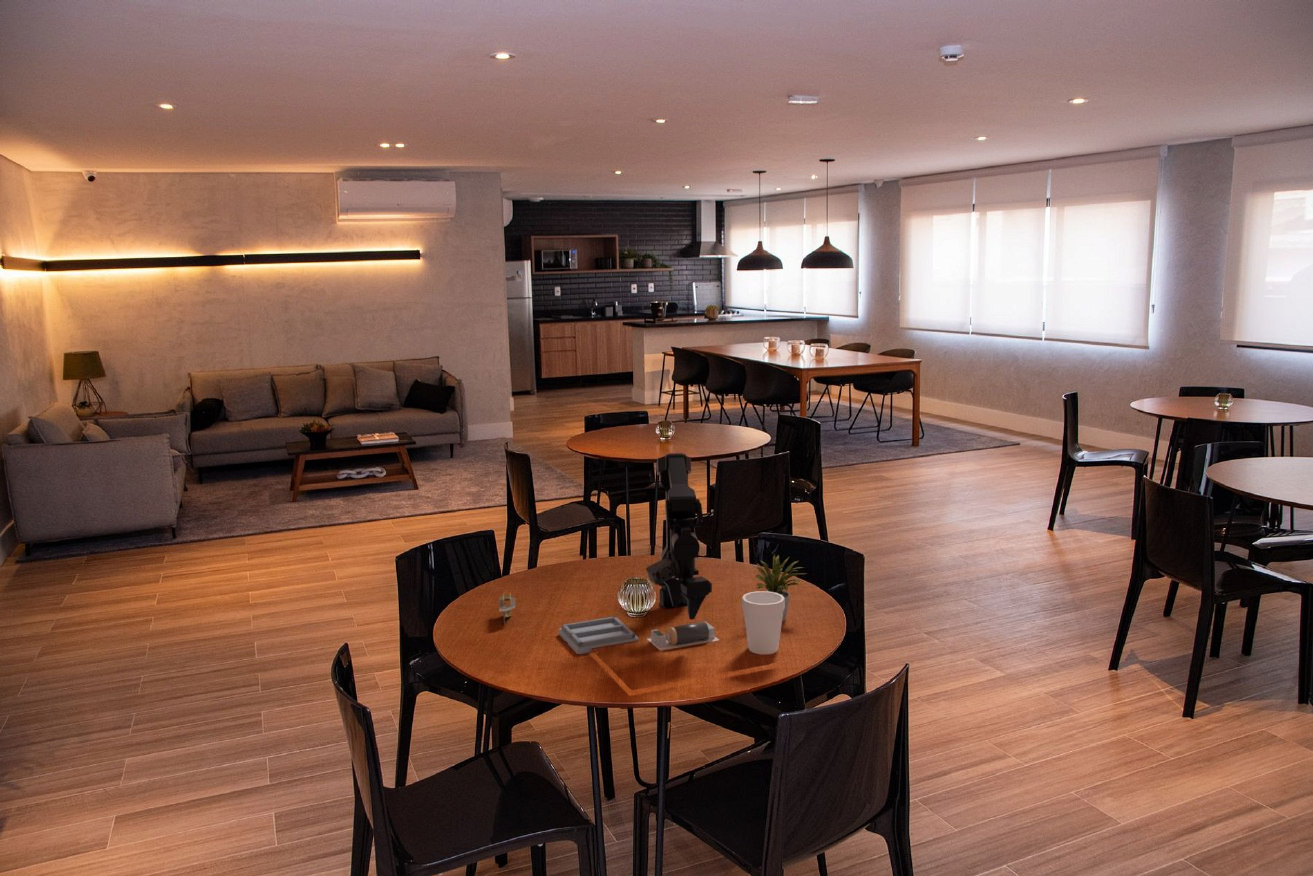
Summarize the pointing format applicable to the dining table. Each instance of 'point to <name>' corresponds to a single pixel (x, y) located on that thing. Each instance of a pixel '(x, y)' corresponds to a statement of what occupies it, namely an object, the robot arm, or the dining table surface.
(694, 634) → the battery cell
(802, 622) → the dining table surface
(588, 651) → the two-compartment grey tray
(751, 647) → the foam cup
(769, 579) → the house plant
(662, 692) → the dining table surface
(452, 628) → the dining table surface
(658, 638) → the checker cradle
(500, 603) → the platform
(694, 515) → the robot arm
